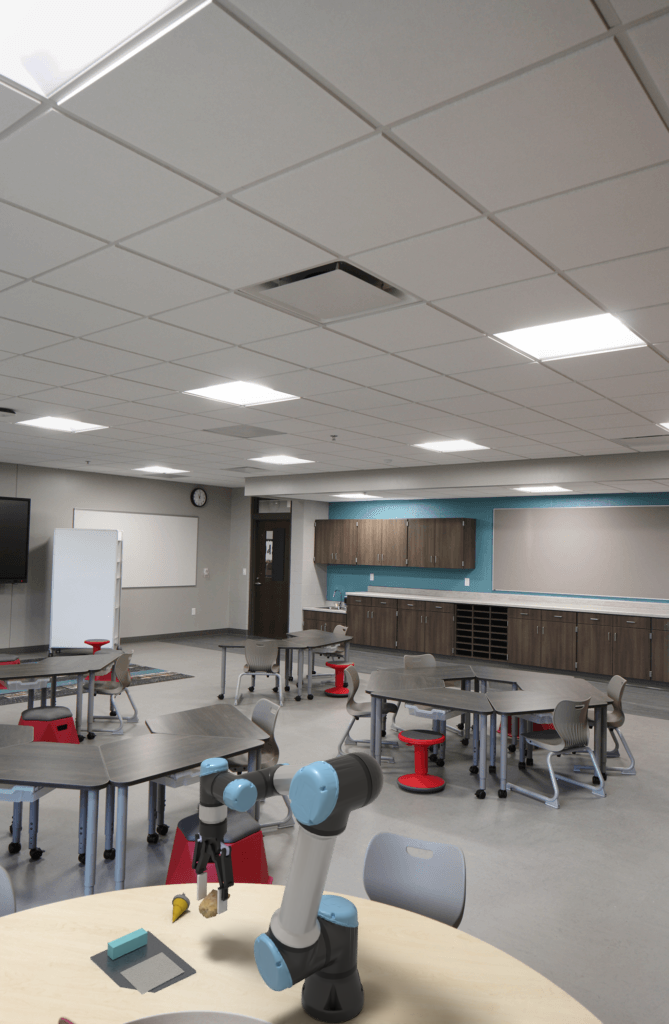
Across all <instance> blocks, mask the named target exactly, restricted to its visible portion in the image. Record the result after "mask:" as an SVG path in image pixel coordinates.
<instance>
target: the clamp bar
mask: <svg viewBox="0 0 669 1024" xmlns="http://www.w3.org/2000/svg"><path fill="white" fill-rule="evenodd" d="M147 936H148V932H147V931H146V929H144V928H143V927H141V928H138V929H136V930H134V931H132V932H129V933H127V934H125V935H123V936H120V937H118V938H116V939H114V940H112V941H109V942H107V949H108V951H107V955H108V956H109V957H110V958H111V959H112V960H114V959H116V958H118V957H120V956H122V955H124V954H127V953H129V952H131V951H133V950H135V949H137V948H139V947H142V946H144V945H146V944H147Z"/></svg>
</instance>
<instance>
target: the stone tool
mask: <svg viewBox="0 0 669 1024" xmlns="http://www.w3.org/2000/svg"><path fill="white" fill-rule="evenodd" d="M217 894H218V889H213V888H212V889H211V891H210V892H208V893H207V896H206V897H205V898H204V899H202V900H201V902H200V903H199V905H198V912H199V913H200V914H201V915H202V917H203V918H205V919H210V918H215V917H217V915H219V914H218V913H217ZM230 898H231V894H230V893H228V900H229V899H230Z"/></svg>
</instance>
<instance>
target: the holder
mask: <svg viewBox="0 0 669 1024" xmlns="http://www.w3.org/2000/svg"><path fill="white" fill-rule="evenodd" d="M146 932H148V936H147V944H146V945H144V946H142V947H139V948H137V949H135V950H133V951H131V952H129V953H127V954H124V955H122V956H120V957H118V958H116V959H114V960H112V959H111V958H110V957H109V956H108V955H107V951H108V948H107V949H104V950H103V951H100V952H99V953H96V954H93V955H92V956H90V960H91V961H92V962H93V963H94V964H95V965H96V966H97V967H98V968H99V970H101V971H102V972H104V973H105V975H106V976H107V977H109V978H110V980H112V981H113V982H114V984H116V985H117V986H118V987H119V988H123V989H129V990H135V991H137V992H139V993H140V994H141V995H144V994H147V993H153V994H155V993H157V992H159V991H162V990H164V989H166V988H168V987H170V986H172V985H174V984H176V983H178V982H180V981H183V980H184V979H187V978H188V977H191V976H193V975H195V974H196V973H197V970H196V969H195V968H194V967H192V965H190V964H189V963H188V962H187V961H185V960H184V959H183V958H181V957H180V956H179V955H178V954H177V953H176V952H174V951H173V950H172V949H171V948H170V947H169V946H167V944H165V943H164V942H163V941H161V940H160V939H159V938H158V937H157V936H155V934H154V933H152V932H151V931H149V930H147V931H146Z"/></svg>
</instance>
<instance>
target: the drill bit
mask: <svg viewBox="0 0 669 1024" xmlns="http://www.w3.org/2000/svg"><path fill="white" fill-rule="evenodd" d="M171 905H172V919H171V921H172V924H173V923H174V922H175V921H176V920H177V919H178V918H179V917H180V916H181V915H182V914H183V913H184V912H186V911H187V910H188V909H189V908H190V906H191V900H190V899H189V898H188V897H187V896H186V893H185V892H182V894H180V893H179V894H175V895H174V897H173V898H172V901H171Z"/></svg>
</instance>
